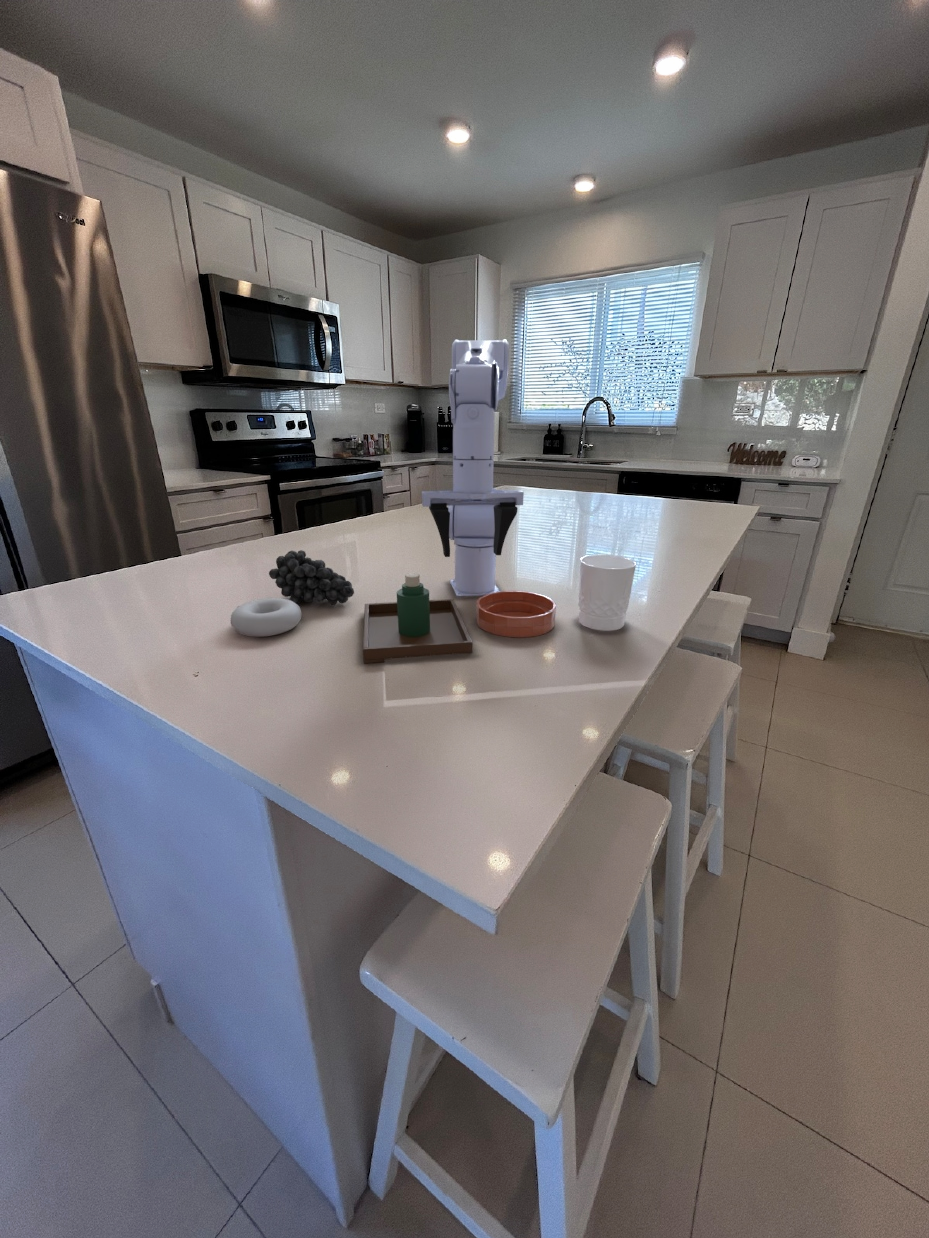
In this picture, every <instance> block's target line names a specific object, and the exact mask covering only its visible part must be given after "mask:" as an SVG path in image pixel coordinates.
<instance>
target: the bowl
mask: <svg viewBox="0 0 929 1238" xmlns="http://www.w3.org/2000/svg"><path fill="white" fill-rule="evenodd" d="M499 591H500V592H494V593H489V594H487V595H481V597H479V598H478V599H477V601H476V607H475V616H476V617H475V622H476V624H477V626H478V627H479V628H480V629H481V630H483V631H485V632H487V633H490V634H493V635H496V636H502V637H506V638H508V637H509V638H530V637H531V638H532V637H537V636H541V635H546V634H547V633H549V632H551V631H552V630H553V628H554V627H555V625H556V624H555V623H556V612H557V604H556V602H555V601H554V600H553V599H552V598H550V597H548V596H546V595H543V594H540V593H537V592H531V591H526V590H525V591H523V590H499Z"/></svg>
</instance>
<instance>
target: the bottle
mask: <svg viewBox="0 0 929 1238" xmlns="http://www.w3.org/2000/svg"><path fill="white" fill-rule="evenodd" d="M420 577H421V576H420V574H419V573H417V572H409V573H406V574H404V581H405V582H404V583H402V584H401V588H399V589H398V590H397V591H396V602H397V612H398V632H399V633H400V634H401V635H403V636H407V637H419V636H424V635H426V634H428V633H429V632H430V605H429V600H430V590H429V589H427V588H425V587H424V583H422V582H420V580H421V579H420Z"/></svg>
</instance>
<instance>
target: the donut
mask: <svg viewBox="0 0 929 1238" xmlns="http://www.w3.org/2000/svg"><path fill="white" fill-rule="evenodd" d="M301 620H302V610H301V607H300V606H299V605H298V604H296V603H294V602H293V601H291V600H290V599H287V598H283V597H282V598H280V597H267V598H259V599H254V600H250V601H248V602H245V603H243V604H241V605H238V606H237V607H236V608H235V609H234V610H233V611H232V613H231V615H230V625H231V627H232V628H233V629H234V630H235V631H236V632H237V633H239V634H241V635H243V636H247V637H255V638H259V637H260V638H261V637H263V638H265V637H271V636H276V635H280V634H283V633H286V632H288V631H290V630H292V629H294V628H296V627H297V625H298V624H299V623H300V621H301Z"/></svg>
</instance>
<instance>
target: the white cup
mask: <svg viewBox="0 0 929 1238" xmlns="http://www.w3.org/2000/svg"><path fill="white" fill-rule="evenodd" d="M579 562H580V563H579V581H578V582H579V583H578V610H579V611H578V623H579V624H580V625H582V626H583V627H585V628H588V629H591V630H597V631H601V632H602V631H617V630H620V629H622V628H624V626H625V622H626V615H627V611H628V609H629V606H630V605H629V604H630V599H631V594H632V589H633V584H634V578H635V573H636V567H637V562H636V561H635V560H633V559H632V558H631V559H630V558H628V557H624V556H619V555H612V554H590V555H585V556H583V557H581V558H580V560H579Z"/></svg>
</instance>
